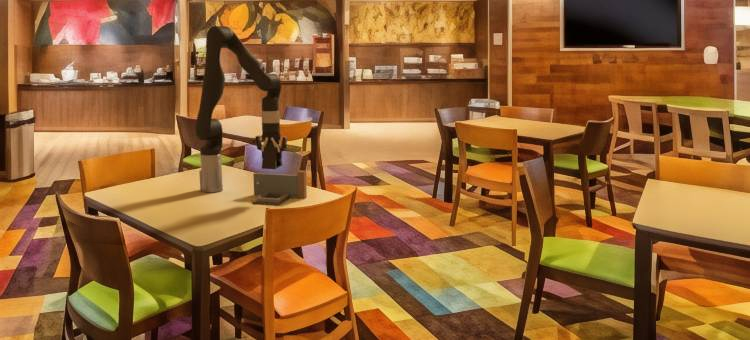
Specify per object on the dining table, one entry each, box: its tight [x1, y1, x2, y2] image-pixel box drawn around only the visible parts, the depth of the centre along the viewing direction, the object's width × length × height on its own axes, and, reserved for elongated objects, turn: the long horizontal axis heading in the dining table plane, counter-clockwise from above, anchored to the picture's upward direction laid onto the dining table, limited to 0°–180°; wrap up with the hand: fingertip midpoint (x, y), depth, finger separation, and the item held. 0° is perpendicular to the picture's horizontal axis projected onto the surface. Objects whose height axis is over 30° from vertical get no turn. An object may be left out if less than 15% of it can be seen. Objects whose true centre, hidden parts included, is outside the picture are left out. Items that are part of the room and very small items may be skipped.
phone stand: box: [261, 140, 283, 170], centre depth 267 cm, size 9×6×12 cm, turn 167°
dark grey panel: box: [253, 170, 308, 200], centre depth 276 cm, size 24×4×12 cm, turn 77°
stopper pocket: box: [252, 192, 292, 206], centre depth 269 cm, size 12×14×2 cm
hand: (272, 159), depth 267 cm, fingers closed on phone stand, 6 cm apart
